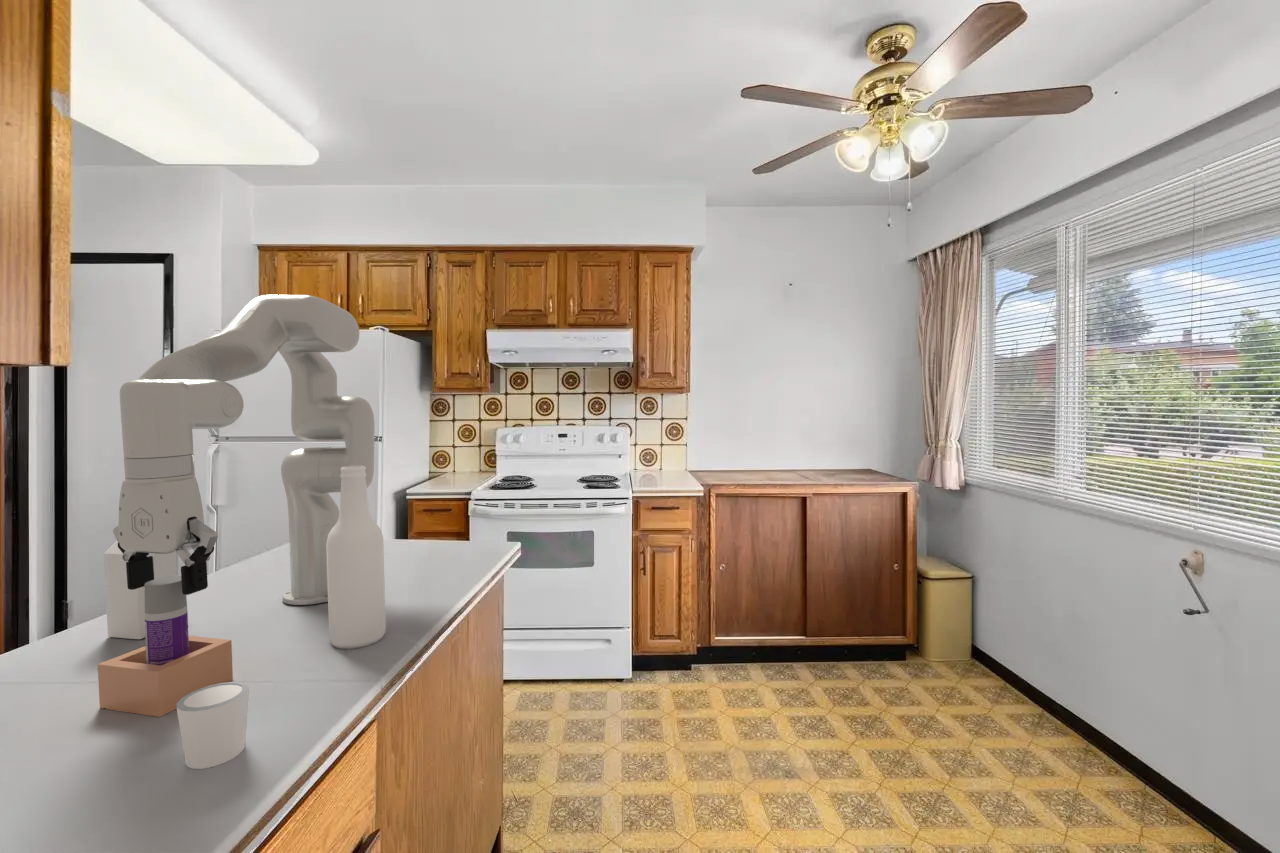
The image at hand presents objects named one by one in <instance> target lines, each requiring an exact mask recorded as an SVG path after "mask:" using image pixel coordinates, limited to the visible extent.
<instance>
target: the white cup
mask: <svg viewBox="0 0 1280 853" xmlns="http://www.w3.org/2000/svg"><path fill="white" fill-rule="evenodd" d="M249 696H250V687H249V684H247V683H245V682H242V681H230V682H227V683H219V684H215V685H211V686H207V687H204V688H201V689H198V690H196V691H193V692H191V693H189V694H188V695H186V696H184V697H182V698H181V699H180V700H179V701H178V702H177V709H176V712H177V719H178V720H177V721H178V725H179V730H180V736H181V737H180V738H181V743H182V749H183V755H184V756H183V757H184V761H185V766H186V767H188V768H190V769H197V770H200V769H201V770H202V769H208V768H213V767H216V766H219V765H222V764H224V763H228V762H229V761H231V760H233V759H235V758H236V757H237V756H238V755H240V754H241V753H242V752H243V751H244V749H245V748H246V738H247V725H248V724H247V723H248V711H249V709H248V708H249Z"/></svg>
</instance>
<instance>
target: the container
mask: <svg viewBox="0 0 1280 853" xmlns="http://www.w3.org/2000/svg"><path fill="white" fill-rule="evenodd" d="M187 600H188V599H187V595H184V594H183V593H182V580H181V575H177V576H173V577H164V578H159V579H155V580H151V581H148V582H146V583H145V638H144V639H145V646H146V664H151V665H160V666H161V665H164V664H166V663H168V662H171V661H173V660H175V659H178V658H180V657H182V656H185V655H187V654H189V639H188V636H189V617H188V601H187Z"/></svg>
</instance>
